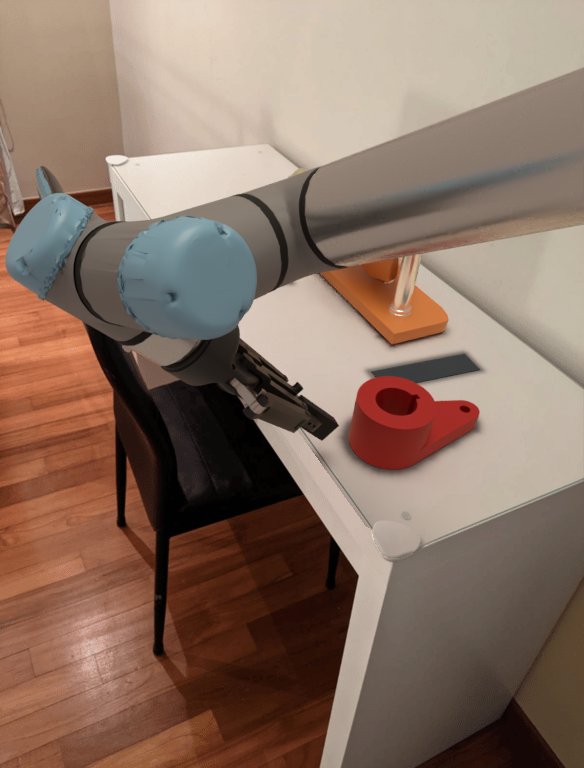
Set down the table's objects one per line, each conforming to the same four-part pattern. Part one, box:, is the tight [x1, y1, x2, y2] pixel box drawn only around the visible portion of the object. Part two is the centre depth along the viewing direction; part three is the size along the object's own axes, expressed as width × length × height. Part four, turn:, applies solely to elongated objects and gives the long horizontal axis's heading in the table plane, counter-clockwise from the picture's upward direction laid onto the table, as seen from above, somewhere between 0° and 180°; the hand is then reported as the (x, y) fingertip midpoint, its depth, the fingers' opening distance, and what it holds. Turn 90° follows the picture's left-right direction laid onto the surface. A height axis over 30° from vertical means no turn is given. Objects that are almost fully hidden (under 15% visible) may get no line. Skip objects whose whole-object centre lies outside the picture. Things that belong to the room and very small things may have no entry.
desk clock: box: [319, 254, 449, 345], centre depth 98 cm, size 12×30×20 cm, turn 27°
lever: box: [348, 376, 481, 471], centre depth 75 cm, size 18×9×7 cm, turn 113°
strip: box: [370, 353, 481, 384], centre depth 88 cm, size 4×16×1 cm, turn 112°
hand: (327, 429), depth 71 cm, fingers closed
